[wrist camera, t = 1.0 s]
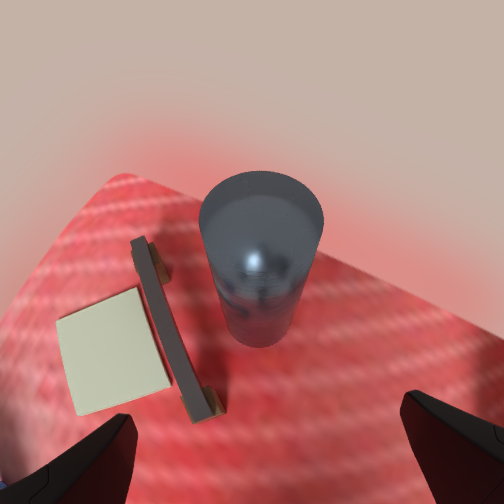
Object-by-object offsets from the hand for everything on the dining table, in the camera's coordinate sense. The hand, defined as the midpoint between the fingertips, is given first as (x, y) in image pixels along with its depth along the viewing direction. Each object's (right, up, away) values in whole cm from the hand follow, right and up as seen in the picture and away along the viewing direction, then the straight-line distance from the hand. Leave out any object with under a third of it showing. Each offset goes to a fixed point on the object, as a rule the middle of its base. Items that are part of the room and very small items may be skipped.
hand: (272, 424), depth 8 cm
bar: (-6, 0, +12) cm, 13 cm away
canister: (0, 0, +15) cm, 15 cm away
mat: (-13, -3, +14) cm, 19 cm away
